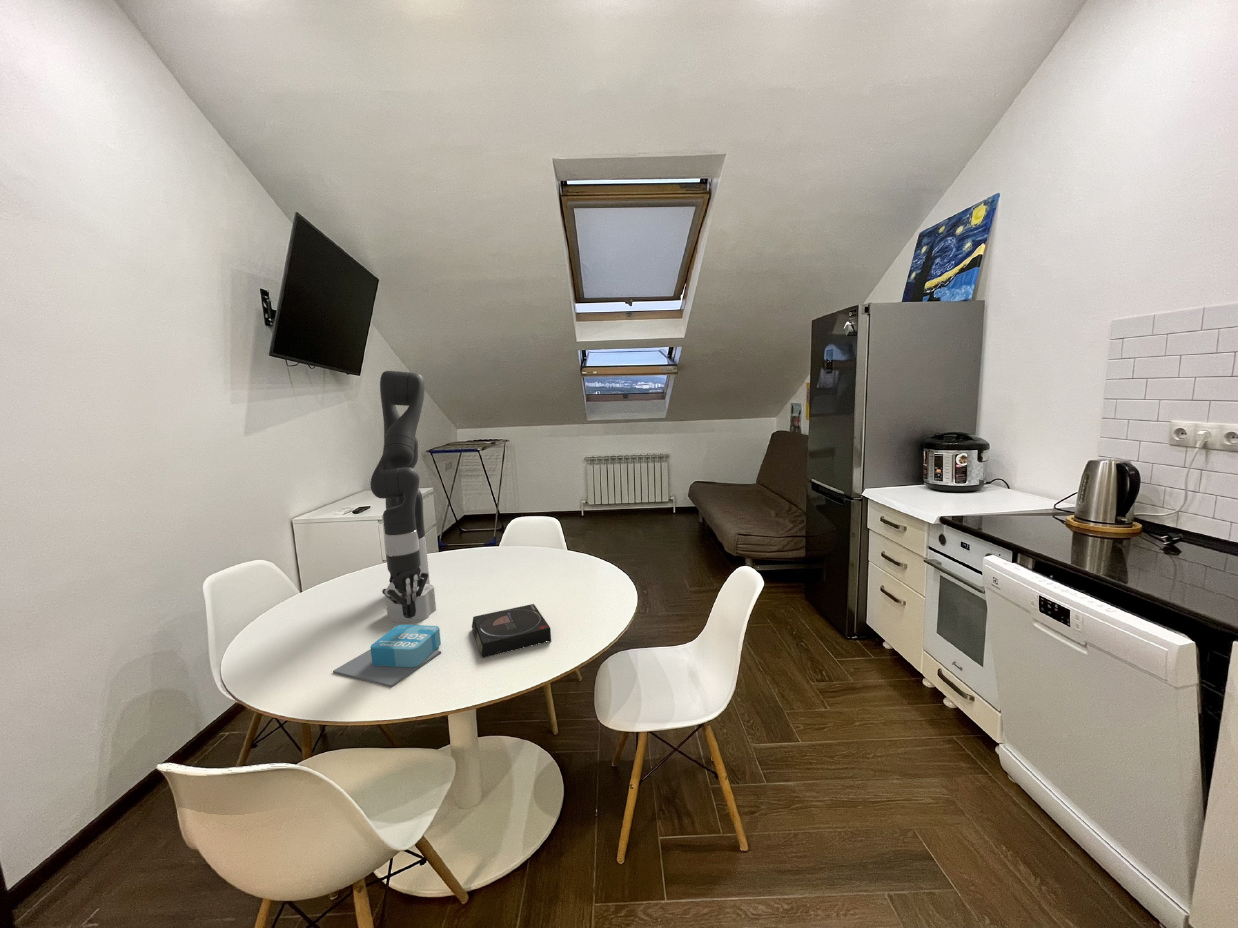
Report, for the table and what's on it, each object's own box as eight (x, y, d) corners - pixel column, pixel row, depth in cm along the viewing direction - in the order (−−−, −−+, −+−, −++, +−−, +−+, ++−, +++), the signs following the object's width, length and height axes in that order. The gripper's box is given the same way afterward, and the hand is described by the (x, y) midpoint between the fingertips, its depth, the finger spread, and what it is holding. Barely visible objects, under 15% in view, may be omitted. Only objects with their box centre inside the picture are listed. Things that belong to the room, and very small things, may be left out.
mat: (333, 672, 113) (332, 670, 113) (386, 641, 127) (386, 640, 126) (391, 687, 106) (391, 685, 106) (441, 653, 120) (441, 651, 120)
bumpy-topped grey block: (422, 622, 137) (419, 593, 136) (378, 622, 139) (375, 592, 138) (440, 606, 147) (437, 579, 146) (399, 606, 149) (396, 578, 148)
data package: (441, 625, 123) (414, 649, 112) (443, 642, 124) (416, 668, 112) (398, 623, 125) (367, 647, 114) (400, 640, 126) (369, 665, 114)
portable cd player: (472, 631, 131) (470, 617, 131) (534, 617, 138) (533, 603, 138) (481, 660, 117) (480, 644, 116) (551, 642, 123) (550, 627, 123)
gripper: (411, 540, 127) (418, 604, 130) (368, 556, 115) (376, 626, 117) (434, 542, 124) (440, 608, 127) (392, 559, 112) (400, 631, 115)
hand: (409, 616), depth 122 cm, fingers closed
